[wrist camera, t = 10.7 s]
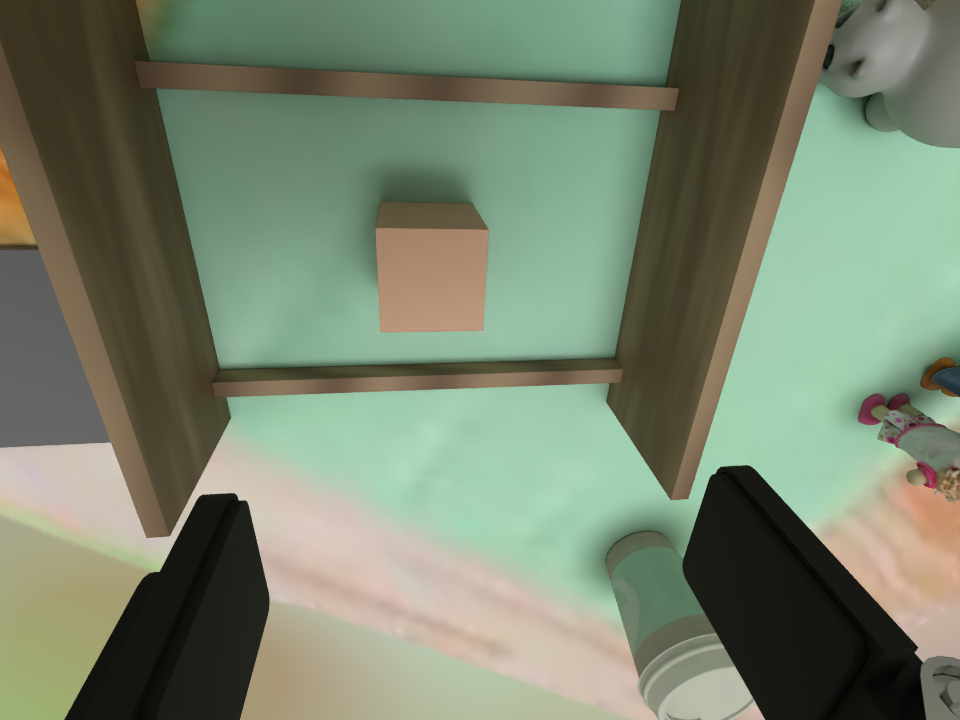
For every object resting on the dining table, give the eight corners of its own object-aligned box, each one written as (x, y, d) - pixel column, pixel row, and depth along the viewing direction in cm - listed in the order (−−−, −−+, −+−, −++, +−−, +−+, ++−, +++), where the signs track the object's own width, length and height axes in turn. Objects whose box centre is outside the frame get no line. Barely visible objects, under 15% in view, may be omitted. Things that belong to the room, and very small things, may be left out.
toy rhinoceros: (795, -29, 27) (867, -99, 19) (1042, 10, 25) (1226, -49, 18) (740, 116, 30) (783, 105, 23) (958, 160, 28) (1083, 164, 21)
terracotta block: (384, 289, 30) (380, 332, 24) (380, 201, 27) (375, 228, 22) (469, 288, 30) (483, 330, 25) (472, 203, 28) (488, 229, 23)
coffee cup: (590, 528, 41) (655, 677, 31) (690, 511, 42) (786, 650, 32) (589, 595, 46) (645, 747, 35) (679, 579, 46) (761, 722, 36)
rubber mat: (-21, 442, 30) (-28, 448, 30) (-123, 246, 25) (-135, 249, 24) (192, 432, 32) (188, 438, 32) (140, 246, 27) (135, 250, 26)
